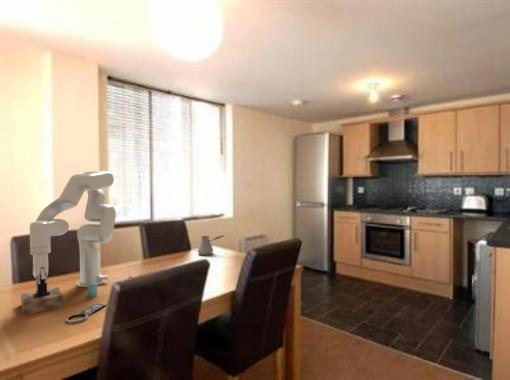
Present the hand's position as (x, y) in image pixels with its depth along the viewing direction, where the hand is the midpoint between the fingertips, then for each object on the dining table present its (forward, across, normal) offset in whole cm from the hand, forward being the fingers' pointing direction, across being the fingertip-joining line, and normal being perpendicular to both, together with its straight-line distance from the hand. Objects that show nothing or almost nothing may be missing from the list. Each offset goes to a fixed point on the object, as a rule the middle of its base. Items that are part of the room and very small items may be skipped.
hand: (41, 290), depth 143 cm
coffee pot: (+7, -36, +108) cm, 114 cm away
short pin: (+7, +1, +20) cm, 21 cm away
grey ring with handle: (+7, +22, +14) cm, 27 cm away
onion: (+7, +7, +36) cm, 37 cm away
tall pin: (+5, 0, 0) cm, 5 cm away
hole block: (+7, 0, 0) cm, 7 cm away
